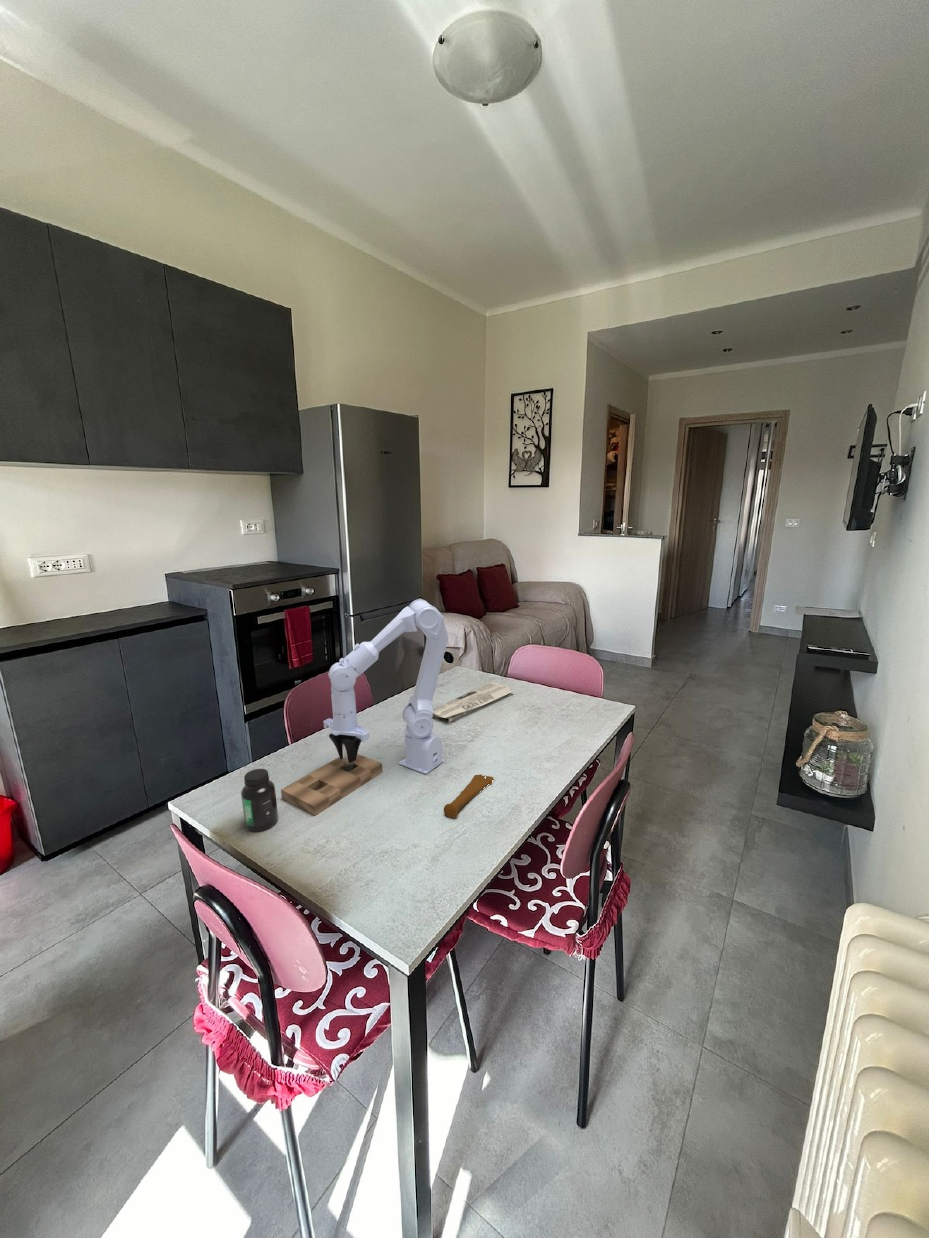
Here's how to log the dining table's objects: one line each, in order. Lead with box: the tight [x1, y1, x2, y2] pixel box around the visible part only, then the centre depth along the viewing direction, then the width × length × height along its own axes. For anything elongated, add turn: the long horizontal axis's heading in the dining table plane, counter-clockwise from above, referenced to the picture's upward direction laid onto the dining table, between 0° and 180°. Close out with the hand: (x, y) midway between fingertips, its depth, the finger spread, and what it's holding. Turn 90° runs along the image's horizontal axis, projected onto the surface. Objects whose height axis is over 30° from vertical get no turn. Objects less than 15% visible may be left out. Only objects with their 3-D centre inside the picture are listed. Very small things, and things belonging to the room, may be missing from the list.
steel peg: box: [342, 742, 354, 772], centre depth 126 cm, size 3×3×8 cm
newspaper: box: [432, 682, 514, 724], centre depth 170 cm, size 35×12×4 cm, turn 140°
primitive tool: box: [443, 774, 495, 819], centre depth 118 cm, size 19×6×4 cm, turn 154°
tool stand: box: [280, 753, 384, 817], centre depth 123 cm, size 12×22×2 cm, turn 146°
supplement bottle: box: [240, 768, 279, 833], centre depth 108 cm, size 7×7×12 cm
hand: (348, 759), depth 126 cm, fingers closed on steel peg, 2 cm apart
